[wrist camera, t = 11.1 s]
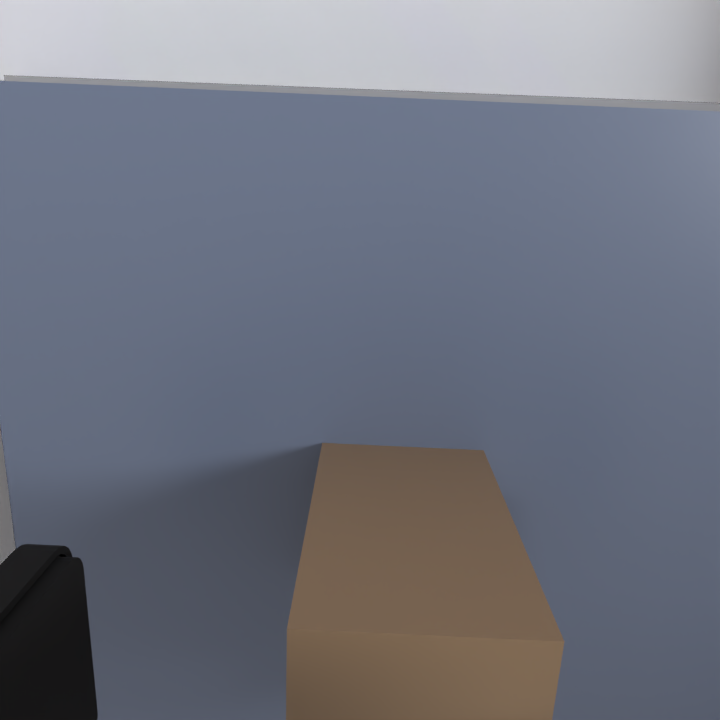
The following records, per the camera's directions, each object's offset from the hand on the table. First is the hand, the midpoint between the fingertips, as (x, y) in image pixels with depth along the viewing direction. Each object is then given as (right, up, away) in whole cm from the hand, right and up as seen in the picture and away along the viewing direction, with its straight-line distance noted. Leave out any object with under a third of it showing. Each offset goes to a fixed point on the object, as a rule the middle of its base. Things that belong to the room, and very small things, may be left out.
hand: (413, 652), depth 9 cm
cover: (0, +2, +6) cm, 6 cm away
